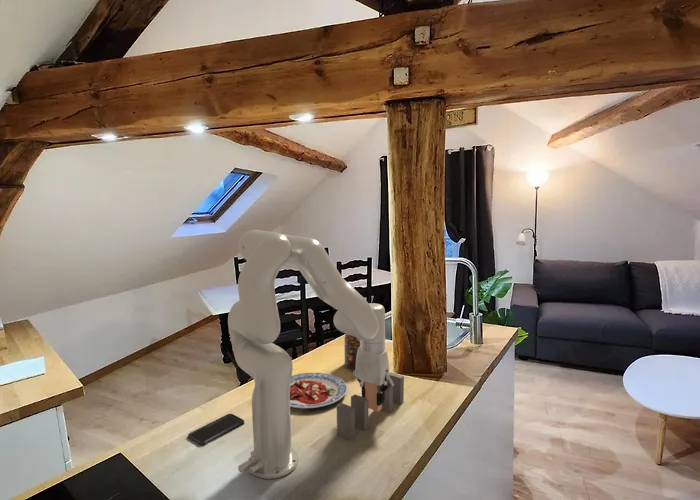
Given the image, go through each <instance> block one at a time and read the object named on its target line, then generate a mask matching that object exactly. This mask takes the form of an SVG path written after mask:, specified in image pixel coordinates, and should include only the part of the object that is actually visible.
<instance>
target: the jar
mask: <svg viewBox="0 0 700 500" xmlns="http://www.w3.org/2000/svg"><path fill="white" fill-rule="evenodd" d="M358 347H360V342H358V338H356V337H354V336H351V335H348V334H346V333H344V349H343V350H344V368H345V369H347V371H351V372H354V371H355V367H356V356H357V351H358Z"/></svg>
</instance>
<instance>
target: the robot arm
mask: <svg viewBox="0 0 700 500" xmlns="http://www.w3.org/2000/svg"><path fill="white" fill-rule="evenodd" d="M237 248H238V251H239V254H240V256H241V257H242V258H243V259H244V260H245V261H246V262H245V263H244V264H243V266H242V267H241V268H242V269H241V271H240V273H239V276H238V280H237V293H238V299H239V300H238V301H237V300H236V302H235V303H234V304H233V305H232V306H231V307H230V310H229V311H228V314H227V315H228V317H227V325H228V331H229V336H230V341H231V342H230V343H231V346H232V352H233V355H234V358H235V362H236V364H237V365H238V367H239V368H240V369H241V370H242V371H244V373H246V374H247V375H249V376H250V377H252V379H253V381H254V387H253V390H252V395H251V413H252V414H251V415H252V434H253V435H252V437H253V450H251V451H250V457H249V458H248V459H247V460H246V461H243V463H241V464H239V465H238V466H237V469H238V472H239V473H240V474H243V473H245V472H246V471H248V470H249V474H251V475H254V476H255V477H257V478H260V479H265V480H266V479H267V480H271V479H276V478H277V479H278V478H282V477H284V476H286V475H288V474H289V473H291V472H292V471H294V470H295V468H297V465H298V462H299V455H298V453H297V451H296V450H295V449H294V448H293V447H292V420H291V417H292V416H291V407H290V383H291V377H292V375H293V371H294V370H293V360H292V359H291V356H290V354H288V352H287V351H286V350H284V349H283V348H282V347H280V346H279V345H276V344H275V343H273V342H275V341H276V340H277V338H278V337H279V336H280V332H281V320H280V319H281V318H280V313H279V308H278V304H277V297H276V291H275V289H276V288H275V286H276V285H275V282H276V278H277V276H278V273H280V270H281V269H282V267H284V266H287V267H293V268H296V269H297V270H298V271H299V272H300V273H301V275H302V276H303V278H304V279H305V280H306V282H307V283H308V285H309V286H310V288H311V289H312V290H313V292H314V294H315V295H316V297H318V298H319V299H320V300H322V301H323V302H324V303H326V304H327V305H329V306H330V307H332V308H334V309H335V310H336V312H335V313H334V315H333V318H332V319H333V325H334V327H335V328H336V330H338V331H339V332H341V333H344V334H348V335H351V336H354V337H356V338H358V342H360V347H358V351H357V356H356V367H355V371H352V374H353V375H354V376H355V378H356V380H357V382H358V383H359V387H360V388H361V397H364V398H365V382H368V383H371V384H374V385H377V389H378V393H377V405H378V406H380V405H381V404H382V403H384V401H385V391H386V390H387V389H389V388H390V387H392V386H394V383H393V381H392V379H391V378H390V376H389V373H390V361H389V355H388V350H387V349H386V310H385V307H384V305H382V304H380V303H375V302H373V303H372V302H371V303H369V302H368V301H367V300H366V299H365V298H364V296H363V295H361V294H360V293H359V292H358V291H357V290H356V288H354V287H353V286H352V285H351V284H350V283H349V282H348V281H347V280H345V278H343V276H342V275H341V273H340V272H339V270H338V269H337V267H336V265H335V264H334V262H333V260H332V258H331V257H330V256H329V254H328V253H327V250H326V249H325V248H324V246H323V245H322V244H321V242H320V241H318V240H317V239H315V238H311V237H306V236H300V235H293V234H292V235H291V234H284V233H279V232H276V231H268V230H261V229H250V230H247V231H246V232H245V233H243V234H242V235H241V237H240V239H239V240H238V246H237ZM385 381H386V382H387V385H386V384H385ZM381 385H382V388H381Z"/></svg>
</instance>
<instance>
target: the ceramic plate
mask: <svg viewBox="0 0 700 500" xmlns="http://www.w3.org/2000/svg"><path fill="white" fill-rule="evenodd" d="M347 391H348V386H347V383H346V382H345V380H343V379H342V378H340V377H338V376H336V375H333V374H330V373H325V372H302V373H296V374H292V377H291V383H290V408H295V409H314V408H315V409H317V408H321V407H326V406H329V405H332V404H335V403H336V402H338V401H340V400H341V399H342V398H344V397H345V395H346V393H347Z"/></svg>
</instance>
